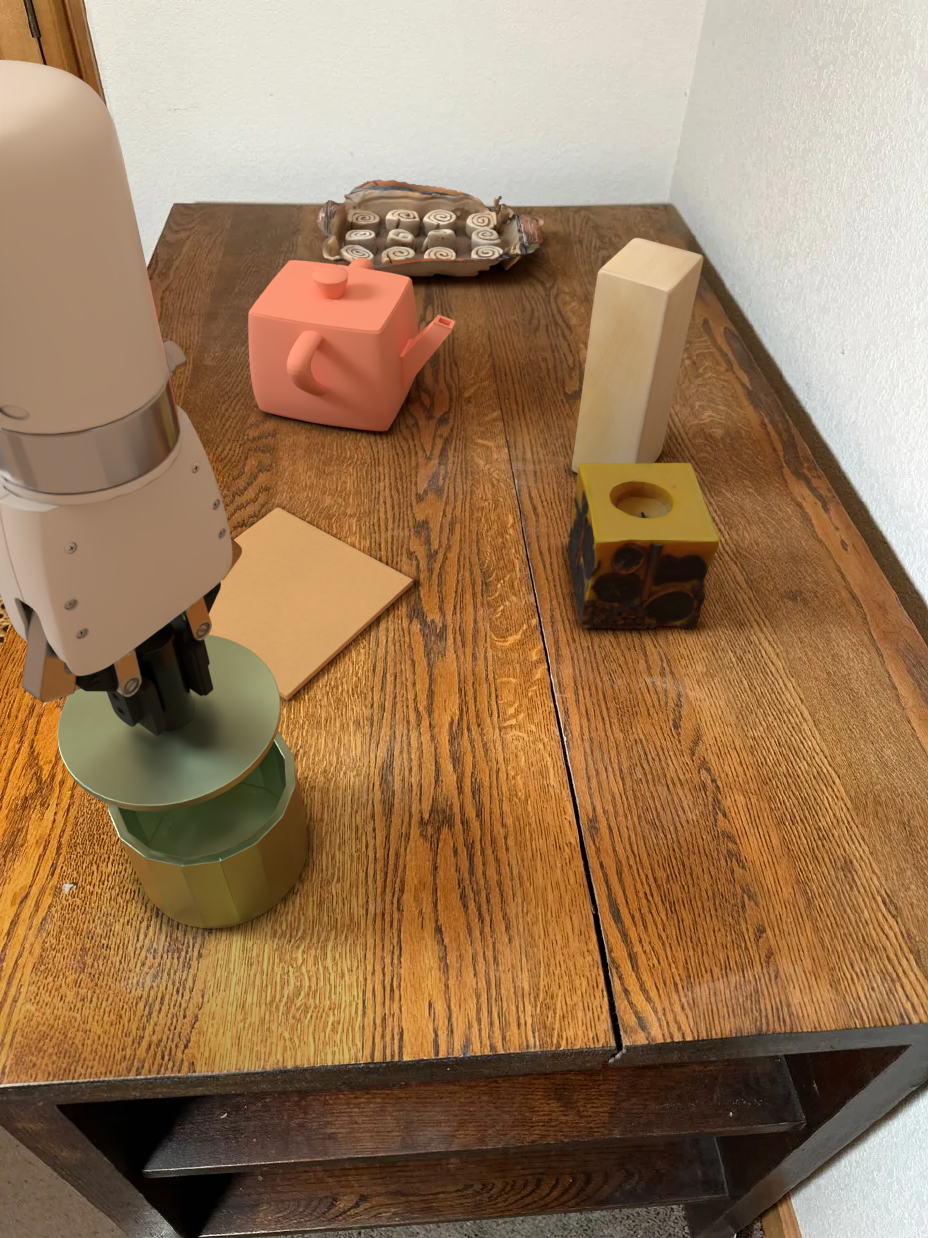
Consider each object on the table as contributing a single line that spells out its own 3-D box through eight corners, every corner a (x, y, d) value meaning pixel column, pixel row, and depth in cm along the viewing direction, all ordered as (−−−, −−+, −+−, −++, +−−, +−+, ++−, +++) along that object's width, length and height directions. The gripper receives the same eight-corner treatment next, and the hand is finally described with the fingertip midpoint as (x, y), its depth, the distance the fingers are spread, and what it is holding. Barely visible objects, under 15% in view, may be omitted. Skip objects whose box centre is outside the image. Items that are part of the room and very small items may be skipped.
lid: (167, 859, 47) (135, 774, 41) (16, 741, 51) (-32, 649, 46) (325, 709, 54) (316, 618, 48) (180, 616, 58) (156, 523, 53)
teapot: (234, 442, 94) (210, 317, 84) (310, 332, 109) (297, 214, 99) (424, 475, 92) (423, 350, 81) (475, 358, 106) (480, 239, 96)
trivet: (287, 700, 72) (286, 696, 72) (146, 610, 78) (145, 605, 78) (413, 584, 81) (413, 579, 81) (278, 511, 87) (277, 506, 87)
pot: (224, 963, 58) (199, 901, 52) (105, 866, 63) (69, 798, 56) (341, 835, 65) (332, 766, 58) (225, 754, 69) (205, 682, 63)
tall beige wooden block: (597, 429, 98) (628, 232, 82) (662, 452, 95) (707, 254, 80) (562, 469, 93) (589, 268, 77) (630, 495, 90) (671, 293, 75)
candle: (697, 630, 79) (725, 543, 71) (579, 632, 78) (594, 544, 71) (674, 547, 86) (697, 460, 78) (564, 549, 85) (577, 461, 78)
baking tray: (529, 212, 132) (532, 172, 128) (559, 287, 118) (563, 245, 114) (316, 218, 129) (313, 178, 125) (320, 297, 115) (316, 254, 111)
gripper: (169, 311, 44) (225, 588, 57) (-165, 480, 34) (-4, 764, 48) (288, 366, 41) (318, 644, 54) (-41, 567, 32) (93, 843, 45)
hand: (166, 698), depth 51 cm, fingers closed on lid, 2 cm apart
